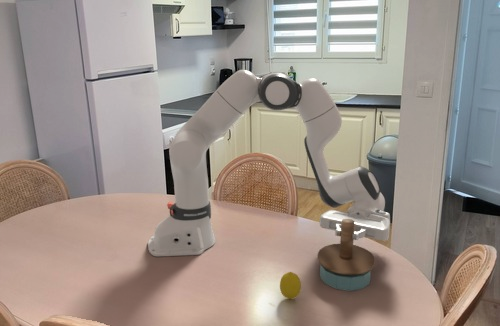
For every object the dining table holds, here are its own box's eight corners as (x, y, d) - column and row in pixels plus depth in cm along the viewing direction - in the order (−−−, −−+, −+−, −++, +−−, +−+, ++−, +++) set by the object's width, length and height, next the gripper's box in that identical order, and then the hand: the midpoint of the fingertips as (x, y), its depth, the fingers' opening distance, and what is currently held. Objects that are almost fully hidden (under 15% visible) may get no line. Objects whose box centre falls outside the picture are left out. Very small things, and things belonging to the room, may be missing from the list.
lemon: (299, 306, 114) (300, 279, 112) (278, 303, 115) (278, 276, 113) (301, 294, 119) (302, 267, 117) (281, 291, 120) (281, 266, 118)
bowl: (333, 293, 119) (333, 280, 118) (313, 268, 132) (313, 256, 131) (379, 285, 122) (380, 273, 121) (355, 261, 135) (356, 249, 134)
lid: (332, 278, 116) (333, 237, 113) (309, 250, 131) (310, 213, 128) (385, 269, 120) (389, 229, 117) (357, 243, 135) (360, 207, 132)
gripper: (328, 201, 138) (311, 217, 127) (395, 214, 128) (383, 232, 117) (327, 220, 140) (311, 237, 129) (393, 234, 130) (381, 254, 119)
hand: (346, 235), depth 123 cm, fingers closed on lid, 3 cm apart
